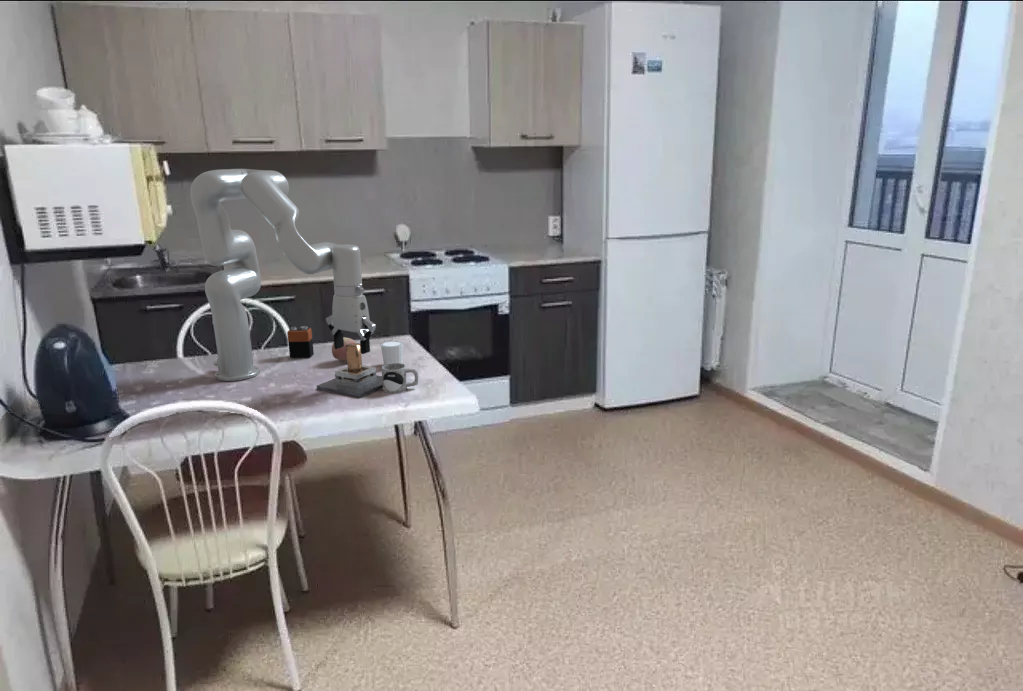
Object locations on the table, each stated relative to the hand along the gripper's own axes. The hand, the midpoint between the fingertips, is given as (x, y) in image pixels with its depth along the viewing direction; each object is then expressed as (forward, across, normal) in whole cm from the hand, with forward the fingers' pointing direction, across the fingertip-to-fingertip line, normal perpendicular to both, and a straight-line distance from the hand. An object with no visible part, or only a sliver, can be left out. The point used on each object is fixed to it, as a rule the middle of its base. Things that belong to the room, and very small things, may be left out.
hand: (352, 350), depth 199 cm
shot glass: (+11, +2, -20) cm, 23 cm away
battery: (+11, +35, -14) cm, 40 cm away
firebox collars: (+10, -1, 0) cm, 10 cm away
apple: (+11, +18, -16) cm, 27 cm away
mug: (+10, -14, -4) cm, 18 cm away
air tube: (+9, -1, 0) cm, 9 cm away
